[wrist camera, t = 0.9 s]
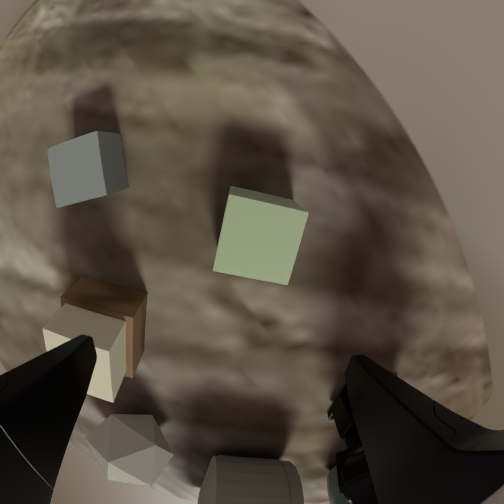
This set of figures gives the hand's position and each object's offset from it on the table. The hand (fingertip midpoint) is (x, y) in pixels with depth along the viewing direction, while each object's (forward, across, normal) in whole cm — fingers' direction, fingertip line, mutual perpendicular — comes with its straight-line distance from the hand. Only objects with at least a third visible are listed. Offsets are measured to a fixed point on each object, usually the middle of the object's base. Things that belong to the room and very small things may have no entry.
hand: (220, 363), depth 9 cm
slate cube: (+13, +10, -5) cm, 17 cm away
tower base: (+13, +10, +7) cm, 17 cm away
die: (+13, +9, +22) cm, 27 cm away
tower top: (+9, +10, +7) cm, 15 cm away
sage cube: (+13, -2, -2) cm, 13 cm away
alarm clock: (+13, -3, +34) cm, 36 cm away
